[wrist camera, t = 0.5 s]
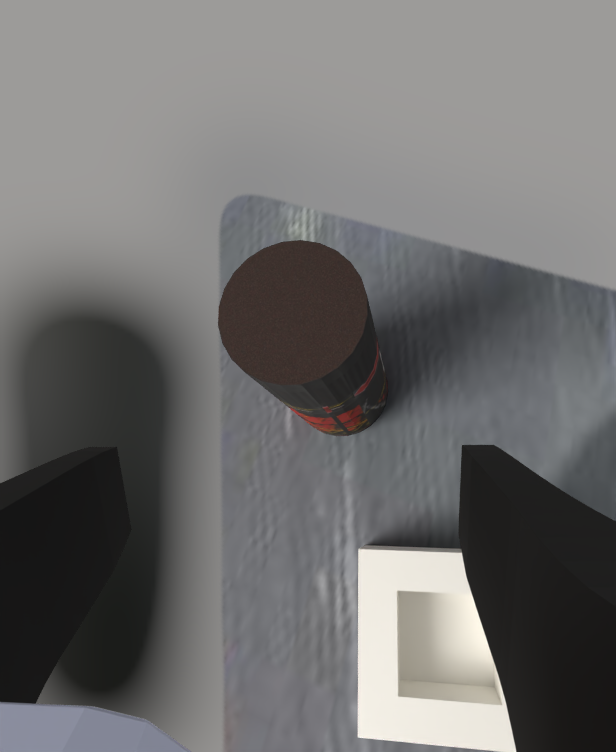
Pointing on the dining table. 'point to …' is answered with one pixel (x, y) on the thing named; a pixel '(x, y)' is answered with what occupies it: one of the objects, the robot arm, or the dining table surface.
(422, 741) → the block
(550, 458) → the dining table surface
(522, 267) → the dining table surface
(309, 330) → the deodorant
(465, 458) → the robot arm
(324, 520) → the dining table surface
